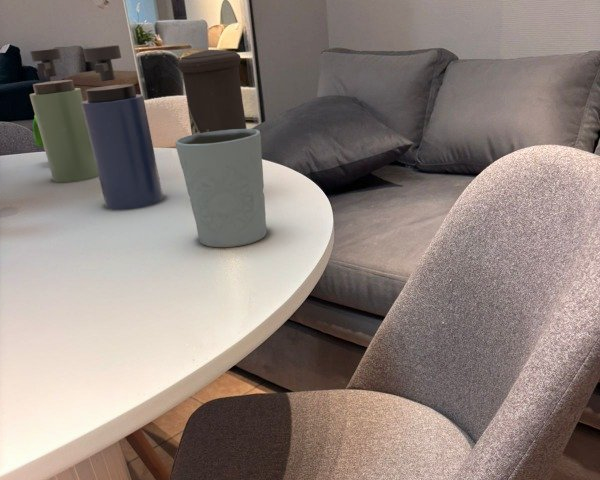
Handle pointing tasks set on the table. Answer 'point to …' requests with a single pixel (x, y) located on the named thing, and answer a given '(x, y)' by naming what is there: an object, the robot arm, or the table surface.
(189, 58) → the container
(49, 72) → the sage flask pump
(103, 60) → the navy flask pump
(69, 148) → the sage flask
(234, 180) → the grey-green cup
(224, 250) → the table surface
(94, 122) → the navy lidded canister
